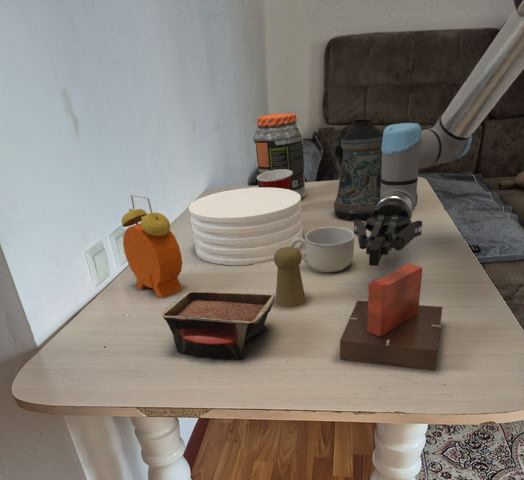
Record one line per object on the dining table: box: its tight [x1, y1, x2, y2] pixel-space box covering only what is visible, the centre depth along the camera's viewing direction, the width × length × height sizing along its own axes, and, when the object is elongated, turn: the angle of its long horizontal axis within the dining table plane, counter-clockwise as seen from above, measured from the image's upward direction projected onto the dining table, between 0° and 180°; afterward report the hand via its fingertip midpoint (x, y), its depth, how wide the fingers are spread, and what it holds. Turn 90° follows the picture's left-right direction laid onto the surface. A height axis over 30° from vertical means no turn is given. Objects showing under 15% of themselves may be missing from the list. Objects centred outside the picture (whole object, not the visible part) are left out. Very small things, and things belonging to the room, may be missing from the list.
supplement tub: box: [253, 112, 306, 200], centre depth 158 cm, size 16×16×26 cm
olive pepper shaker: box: [273, 247, 307, 308], centre depth 92 cm, size 6×6×11 cm
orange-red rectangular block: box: [367, 263, 423, 337], centre depth 74 cm, size 10×2×8 cm, turn 131°
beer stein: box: [332, 119, 384, 222], centre depth 135 cm, size 16×19×25 cm
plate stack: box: [188, 187, 304, 266], centre depth 123 cm, size 28×28×12 cm
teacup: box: [290, 225, 356, 274], centre depth 106 cm, size 14×11×8 cm
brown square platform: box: [339, 300, 443, 372], centre depth 77 cm, size 14×14×4 cm
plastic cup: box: [256, 169, 293, 190], centre depth 147 cm, size 11×11×12 cm
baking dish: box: [161, 290, 275, 361], centre depth 82 cm, size 14×18×10 cm
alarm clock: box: [121, 194, 183, 299], centre depth 102 cm, size 13×6×20 cm, turn 45°
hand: (373, 257), depth 79 cm, fingers closed
